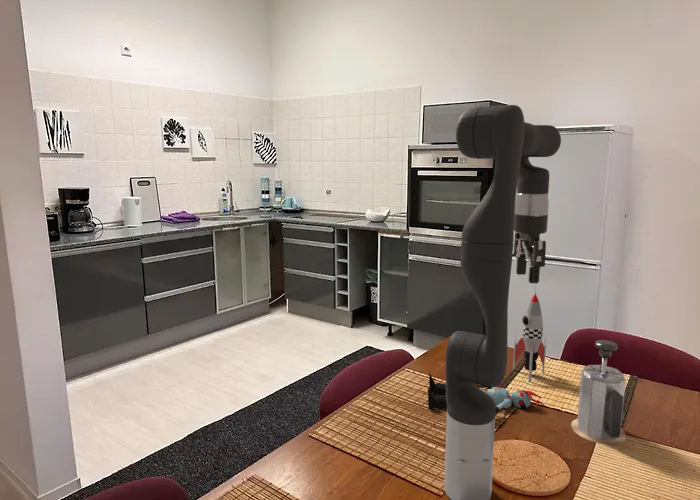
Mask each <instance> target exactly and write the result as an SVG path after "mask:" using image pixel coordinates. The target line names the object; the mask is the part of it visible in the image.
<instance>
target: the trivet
mask: <svg viewBox="0 0 700 500" xmlns="http://www.w3.org/2000/svg"><path fill="white" fill-rule="evenodd" d="M570 426H571V429H572V430H573V432H574V433H575V434H577V435H579V436H580V437H581V438H583V439H585V440H588V441H590V442H594V443H597V444H603V445H617V444H621V443H623V442H624V441H625V440H626V439H627V435H626V433H625V431H624V430H623V429H622V428H621V431H620V437H618V438H617V439H616V440H614V441H602V440H597V439H594V438H591V437H588V436H586V435H585V434H583V433H582V432H580V431H579V430H578V427H577V418H576V419H574V420H572V422H571V423H570Z"/></svg>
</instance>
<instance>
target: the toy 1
mask: <svg viewBox="0 0 700 500" xmlns="http://www.w3.org/2000/svg"><path fill="white" fill-rule="evenodd" d="M428 375H429V376H428V380H429V382H428V383H429V384H428V385H429V386H427V401H428V402H427V405H428V407H427V408H428V409H433V408H438V409H447V401H446V383H442V382H436V381H435V379H434V378H433V376H432V374H431V373H430V372H429V373H428ZM480 386H481V387H478V388H479V389H481V390H482V391H484V392H485V393H487V394H488V395H489V396H491V397H492V399H493V400H494V402H495V405H496V415H495V417H496V416H497V415H498V414H499V412H500V410H501V409H508V408H510V407H511V406H512V404H513V405H514V406H515V407H516V408H519V409H520V408H521V409H523V410H528V408H529V407H530V406H531V403H532V402H533V403H535V404H537V405H541V406H545V404H544V403H543V402H541V399H542V397H541V396H540V395H538V394H536V392H533V391H531V390H524V389H521V390H514V391H512V392H511V394H510V391H509V390H508V389H506V388H503V387H499V386H498V387H488V386H483V385H480ZM434 394H437V395H434ZM441 395H442V396H441ZM533 397H537V398H539V399H540V400H539V399H537V400H536V399H534V398H533Z"/></svg>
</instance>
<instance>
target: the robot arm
mask: <svg viewBox="0 0 700 500" xmlns="http://www.w3.org/2000/svg"><path fill="white" fill-rule="evenodd" d="M524 116H525V115H524V113H523V109H522V107H520V106H519V105H517V104H504V105H503V104H501V105H489V106H487V105H486V106H476V107H472V108H469V109H467V110H465V111H464V112H462V114H461V115H460V116H459V118H458V120H457V124H456V128H455V129H456V130H455V140H456V145H457V147H458V150H459V152H460V153H461V154H462V155H463V156H465V157H466V158H469V159H473V160H474V159H476V160H482V159H483V160H486V159H488V160H490V159H491V160H493V159H494V160H495V159H497V161H496V166H495V172H494V176H493V179H492V182H491V183H490V184H491V185H489V188H488V190H487V192H485V193H486V194H484V196H483V198H482V199H481V201H480V202H479V203H478V204H477V206H476V208H475V209H474V210H473V212H472V213H471V214H470V216H469V217H468V219H467V221H466V222H465V224H464V226H463V228H462V233H461V244H460V261H459V262H460V268H461V271H462V273H463V276H464V278H465V281H466V283H467V284H468V286H469V287H470V289H471V292H472V293H473V295H474V297H475V298H476V300H477V303H478V304H479V307H480V310H481V312H482V315H483V318H484V319H483V320H484V324H485V332H486V333H485V334H486V335H484V334H480V333H476V332H475V333H474V332H468V331H462V330H458V331H457V330H456V331H455V332H453V333H452V334H451V335H450V337H449V339H448V341H447V345H446V348H445V362H444V363H445V365H444V367H445V368H444V369H445V370H444V371H445V384H446V401H447V408H446V428H445V456H444V457H445V458H444V492H445V495H446V496H447V498H449V499H450V500H491V498H492V491H493V490H492V489H493V470H494V469H493V468H494V467H493V466H494V448H495V429H496V427H495V426H496V416H497V415H496V406H497V405H495V402H494V400H493V399H492V397H491V396H489V395H488V394H487V393H485V392H484V391H482V390H481V389H479V388H480V387H478V386H477V385H480V386H481V385H483V386H488V387H498V388H499V386H500V385H502V383H503V381H504V379H505V376H506V372H507V366H508V335H509V334H508V325H509V324H508V322H509V321H508V316H509V315H508V311H509V310H508V307H509V294H510V283H511V282H510V281H511V274H512V263H513V256H515V259H516V274H517V275H518V276H521V275H526V273H527V260H528V265H529V268H528V270H529V271H528V282H529V283H530V284H538V283H540V273H541V272H540V270H541V268H542V267H543V268H544V267H546V252H547V251H546V249H547V242H546V240H541V238H540V235H541V234H545V233H547V231H548V223H549V222H548V218H549V207H550V201H549V190H550V189H549V186H550V171H549V170H548V169H546V168H544V167H541V166H536V165H533V164H532V163H531V162H530V158H549V157H550V158H551V157H552V156H554V155H555V154H556V153H557V152H558V151H559V149H560V147H561V143H562V138H561V137H562V136H561V133H560V131H559V130H558V129H557V127H556V126H554V125H550V124H549V125H548V124H538V125H537V124H532V123H529V122H527V121H525V117H524ZM514 232H515V233H514ZM495 415H496V416H495Z"/></svg>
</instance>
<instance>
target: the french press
mask: <svg viewBox="0 0 700 500" xmlns="http://www.w3.org/2000/svg"><path fill="white" fill-rule="evenodd" d="M601 368H602V364H588V365H587V366H586V367H585V368H583V369H581V372H580V385H579V394H578V395H579V397H578V406H577V418H576V419H577V427H578V430H579V431H580V432H582V433H583V434H585V435H586V436H588V437H591V438H594V439H597V440H602V441H614V440H616V439H617V438H618V437H620V431H621V429H622V421H623V411H624V410H623V409H624V404H625V403H624V401H625V394H626V393H625V392H626V382H627V380H626V378H625V376H624V373H622V372H621V371H620V370H618V368H614V367H610V366H606V374H602V373H601Z"/></svg>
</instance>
